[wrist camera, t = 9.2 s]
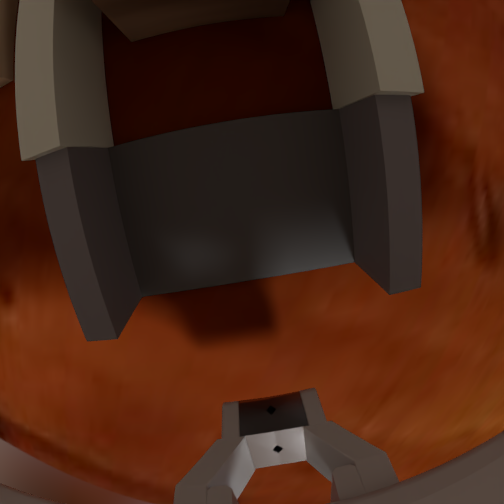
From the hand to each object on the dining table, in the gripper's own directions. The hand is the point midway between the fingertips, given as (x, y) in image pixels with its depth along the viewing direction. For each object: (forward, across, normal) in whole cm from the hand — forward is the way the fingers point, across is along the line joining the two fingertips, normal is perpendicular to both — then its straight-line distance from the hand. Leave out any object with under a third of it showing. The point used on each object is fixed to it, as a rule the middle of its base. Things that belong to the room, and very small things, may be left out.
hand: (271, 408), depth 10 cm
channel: (+2, 0, -15) cm, 15 cm away
